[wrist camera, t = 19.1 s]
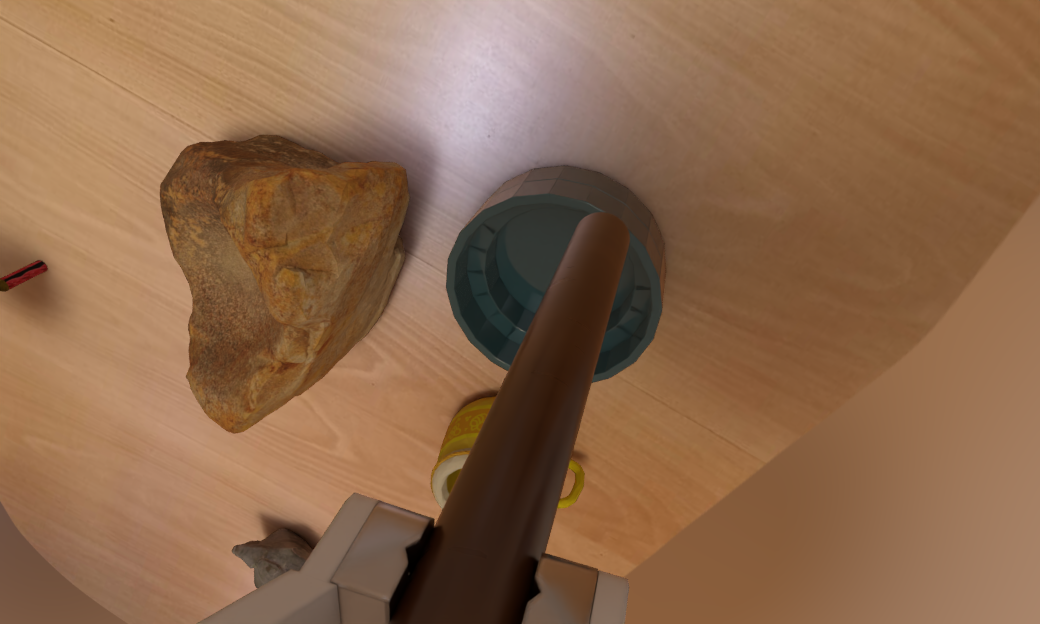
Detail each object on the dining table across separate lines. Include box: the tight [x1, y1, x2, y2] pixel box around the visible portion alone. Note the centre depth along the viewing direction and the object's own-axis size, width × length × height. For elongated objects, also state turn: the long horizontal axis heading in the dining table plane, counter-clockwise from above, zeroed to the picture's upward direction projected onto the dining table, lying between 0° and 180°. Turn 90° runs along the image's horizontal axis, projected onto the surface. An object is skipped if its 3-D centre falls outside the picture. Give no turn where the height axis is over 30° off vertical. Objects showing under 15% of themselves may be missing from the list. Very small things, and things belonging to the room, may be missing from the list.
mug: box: [430, 397, 585, 510], centre depth 49 cm, size 13×11×12 cm
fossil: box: [232, 529, 313, 588], centre depth 69 cm, size 11×9×8 cm
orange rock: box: [160, 135, 410, 434], centre depth 41 cm, size 23×17×15 cm
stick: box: [388, 212, 630, 624], centre depth 14 cm, size 2×2×18 cm
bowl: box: [446, 166, 666, 383], centre depth 41 cm, size 14×14×6 cm
